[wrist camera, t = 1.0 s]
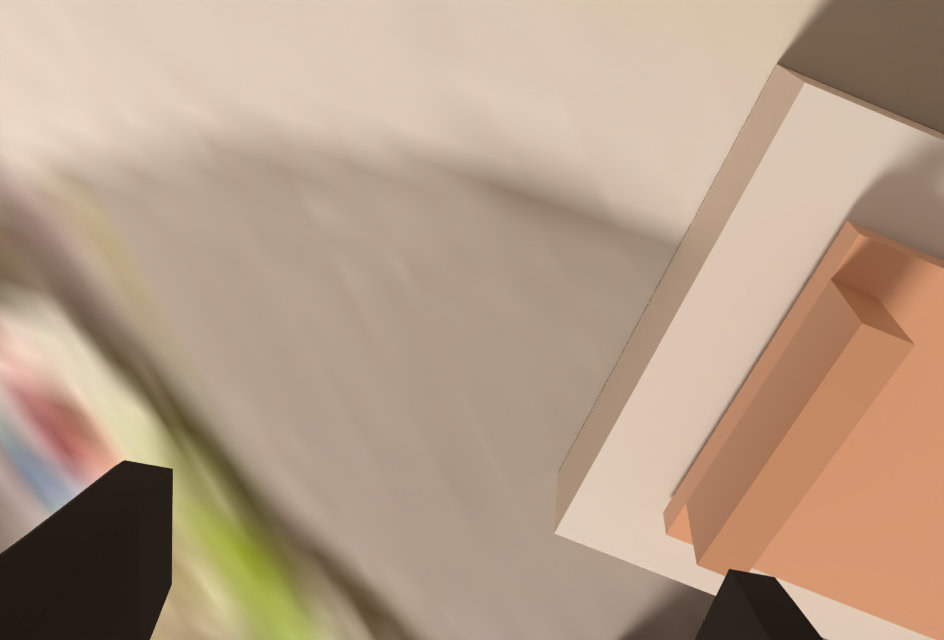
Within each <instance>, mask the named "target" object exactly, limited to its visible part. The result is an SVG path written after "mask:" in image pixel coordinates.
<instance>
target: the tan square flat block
mask: <svg viewBox="0 0 944 640" xmlns="http://www.w3.org/2000/svg"><path fill="white" fill-rule="evenodd" d="M663 517H664V524H665V532H666V535H668V536H671V537H673V538H676V539H678V540H681V541H683V542H686V543H689V544H691V545H693V547H694V552H695V558H696V564H697V565H698V566H700V567H703V568H705V569H708V570H711V571H713V572H716V573H718V574H721V575H723V576H726V574H727V572H728V570H729V569H733V570H739V571H744V572H749V571H750V570H751V569H752V568H753V569H755V570H758V571H760V572H763V573H765V574H768V575H771V576H773V577H776V578H778V579H781V580H783V581H786V582H789V583H791V584H794V585H796V586H799V587H801V588H804V589H807V590H809V591H812V592H814V593H817V594H819V595H822V596H824V597H827V598H830V599H832V600H835V601H837V602H840V603H842V604H845V605H848V606H850V607H853V608H855V609H858V610H860V611H863V612H865V613H868V614H871V615H873V616H876V617H878V618H881V619H883V620H886V621H889V622H891V623H894V624H896V625H899V626H901V627H904V628H907V629H909V630H912V631H914V632H917V633H919V634H922V635H924V636H927V637H930V638H932V639H935V640H944V260H941V259H939V258H937V257H934V256H932V255H929V254H927V253H924V252H922V251H920V250H917V249H915V248H912V247H910V246H907V245H905V244H903V243H900V242H898V241H895V240H893V239H890V238H888V237H886V236H883V235H881V234H878V233H876V232H873V231H871V230H869V229H866V228H864V227H861V226H859V225H856V224H854V223H852V222H849V221H846V223H845V225H844V226H843V228H842V229H841V231H840V233H839V234H838V236H837V237H836V239H835V240H834V242H833V244H832V245H831V247H830V248H829V250H828V252H827V253H826V255H825V256H824V258H823V259H822V261H821V263H820V264H819V266H818V267H817V269H816V271H815V272H814V274H813V275H812V277H811V279H810V280H809V282H808V283H807V285H806V286H805V288H804V290H803V291H802V293H801V294H800V296H799V298H798V299H797V301H796V302H795V304H794V305H793V307H792V309H791V310H790V312H789V313H788V315H787V317H786V318H785V320H784V321H783V323H782V325H781V326H780V328H779V329H778V331H777V332H776V334H775V336H774V337H773V339H772V340H771V342H770V344H769V345H768V347H767V348H766V350H765V352H764V353H763V355H762V356H761V358H760V359H759V361H758V363H757V364H756V366H755V367H754V369H753V371H752V372H751V374H750V375H749V377H748V378H747V380H746V382H745V383H744V385H743V386H742V388H741V390H740V391H739V393H738V394H737V396H736V398H735V399H734V401H733V402H732V404H731V405H730V407H729V409H728V410H727V412H726V413H725V415H724V417H723V418H722V420H721V421H720V423H719V424H718V426H717V428H716V429H715V431H714V432H713V434H712V436H711V437H710V439H709V440H708V442H707V444H706V445H705V447H704V448H703V450H702V451H701V453H700V455H699V456H698V458H697V459H696V461H695V463H694V464H693V466H692V467H691V469H690V470H689V472H688V474H687V475H686V477H685V478H684V480H683V482H682V483H681V485H680V486H679V488H678V490H677V491H676V493H675V494H674V496H673V497H672V499H671V501H670V502H669V504H668V505H667V507H666V509H665V510H664V512H663Z"/></svg>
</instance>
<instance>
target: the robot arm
mask: <svg viewBox="0 0 944 640" xmlns="http://www.w3.org/2000/svg"><path fill="white" fill-rule="evenodd" d="M172 496H173V469H170V468H165V467H159V466H153V465H148V464H142V463H137V462H131V461H126V460H124V461H122V462H121V463H119V464H117V465H116V466H114V467H113V468H112V469H111V470H109V471H108V472H107V473H105V474H104V475H103V476H102V477H100V478H99V479H98V480H96V481H95V482H94V483H93V484H91V485H90V486H89V487H88V488H86V489H85V490H84V491H82V492H81V493H80V494H79V495H77V496H76V497H75V498H74V499H72V500H71V501H70V502H68V503H67V504H66V505H65V506H63V507H62V508H61V509H59V510H58V511H57V512H56V513H54V514H53V515H52V516H50V517H49V518H48V519H46V520H45V521H44V522H42V523H41V524H40V525H39V526H37V527H36V528H35V529H33V530H32V531H31V532H29V533H28V534H27V535H25V536H24V537H23V538H21V539H20V540H19V541H17V542H16V543H15V544H13V545H12V546H10V547H9V548H8V549H6V550H5V551H4V552H2V553H1V554H0V640H150V638H151V635H152V633H153V631H154V628H155V626H156V623H157V621H158V618H159V615H160V613H161V610H162V608H163V605H164V603H165V600H166V597H167V595H168V592H169V590H170V587H171V585H172ZM695 640H823V639H822V637H821V636H820V635H819V633H818V632H817V631H816V629H815V628H814V627H813V625H812V624H811V623H810V621H809V620H808V619H807V618H806V616H805V615H804V614H803V612H802V611H801V610H800V608H799V607H798V606H797V604H796V603H795V602H794V601H793V599H792V598H791V597H790V595H789V594H788V593H787V592H786V590H785V589H784V588H783V587H782V585H781V584H780V583H779V582H778V580H777V579H776V578H775V577H772V576H767V575H761V574H756V573H750V572H744V571H739V570H733V569H729V570H728V572H727V574H726V576H725V578H724V580H723V582H722V584H721V586H720V589H719V591H718V593H717V595H716V597H715V599H714V601H713V603H712V605H711V607H710V609H709V612H708V614H707V616H706V618H705V620H704V622H703V624H702V626H701V628H700V630H699V632H698V634H697V637H696V639H695Z"/></svg>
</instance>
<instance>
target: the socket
mask: <svg viewBox="0 0 944 640" xmlns="http://www.w3.org/2000/svg"><path fill="white" fill-rule="evenodd" d="M846 221H849V222H852V223H854V224H856V225H859V226H861V227H864V228H866V229H869V230H871V231H873V232H876V233H878V234H881V235H883V236H886V237H888V238H890V239H893V240H895V241H898V242H900V243H903V244H905V245H907V246H910V247H912V248H915V249H917V250H920V251H922V252H924V253H927V254H929V255H932V256H934V257H937V258H939V259H941V260H944V134H942V133H940V132H938V131H935V130H933V129H930V128H928V127H926V126H923V125H921V124H918V123H916V122H914V121H911V120H909V119H906V118H904V117H902V116H899V115H897V114H895V113H892V112H890V111H887V110H885V109H883V108H880V107H878V106H875V105H873V104H871V103H868V102H866V101H863V100H861V99H859V98H856V97H854V96H852V95H849V94H847V93H844V92H842V91H840V90H837V89H835V88H832V87H830V86H828V85H825V84H823V83H820V82H818V81H816V80H813V79H811V78H809V77H806V76H804V75H801V74H799V73H797V72H794V71H792V70H789V69H787V68H785V67H782V66H780V65H776V66H775V68H774V70H773V72H772V74H771V76H770V78H769V80H768V81H767V83H766V85H765V87H764V89H763V91H762V93H761V95H760V96H759V98H758V100H757V102H756V104H755V106H754V108H753V109H752V111H751V113H750V115H749V117H748V119H747V121H746V123H745V124H744V126H743V128H742V130H741V132H740V134H739V136H738V138H737V139H736V141H735V143H734V145H733V147H732V149H731V151H730V153H729V154H728V156H727V158H726V160H725V162H724V164H723V166H722V168H721V169H720V171H719V173H718V175H717V177H716V179H715V181H714V183H713V184H712V186H711V188H710V190H709V192H708V194H707V196H706V198H705V199H704V201H703V203H702V205H701V207H700V209H699V211H698V213H697V214H696V216H695V218H694V220H693V222H692V224H691V226H690V228H689V229H688V231H687V233H686V235H685V237H684V239H683V241H682V243H681V244H680V246H679V248H678V250H677V252H676V254H675V256H674V258H673V259H672V261H671V263H670V265H669V267H668V269H667V271H666V273H665V274H664V276H663V278H662V280H661V282H660V284H659V286H658V288H657V289H656V291H655V293H654V295H653V297H652V299H651V301H650V302H649V304H648V306H647V308H646V310H645V312H644V314H643V316H642V317H641V319H640V321H639V323H638V325H637V327H636V329H635V331H634V332H633V334H632V336H631V338H630V340H629V342H628V344H627V346H626V347H625V349H624V351H623V353H622V355H621V357H620V359H619V361H618V362H617V364H616V366H615V368H614V370H613V372H612V374H611V376H610V377H609V379H608V381H607V383H606V385H605V387H604V389H603V391H602V392H601V394H600V396H599V398H598V400H597V402H596V404H595V406H594V407H593V409H592V411H591V413H590V415H589V417H588V419H587V421H586V422H585V424H584V426H583V428H582V430H581V432H580V434H579V436H578V437H577V439H576V441H575V443H574V445H573V447H572V449H571V451H570V452H569V454H568V456H567V458H566V460H565V462H564V464H563V466H562V467H561V469H560V471H559V473H558V477H557V494H556V512H555V530H554V533H555V534H557V535H560V536H562V537H565V538H568V539H570V540H573V541H575V542H578V543H581V544H583V545H586V546H588V547H591V548H593V549H596V550H599V551H601V552H604V553H606V554H609V555H611V556H614V557H617V558H619V559H622V560H624V561H627V562H630V563H632V564H635V565H637V566H640V567H642V568H645V569H648V570H650V571H653V572H655V573H658V574H660V575H663V576H666V577H668V578H671V579H673V580H676V581H679V582H681V583H684V584H686V585H689V586H691V587H694V588H697V589H699V590H702V591H704V592H707V593H709V594H712V595H715V596H716V595H717V593H718V591H719V589H720V586H721V584H722V582H723V580H724V578H725V576H723V575H721V574H718V573H716V572H713V571H711V570H708V569H705V568H703V567H700V566H698V565H697V564H696V558H695V552H694V547H693V545H691V544H689V543H686V542H683V541H681V540H678V539H676V538H673V537H671V536H668V535H666V532H665V524H664V517H663V512H664V510H665V509H666V507H667V505H668V504H669V502H670V501H671V499H672V497H673V496H674V494H675V493H676V491H677V490H678V488H679V486H680V485H681V483H682V482H683V480H684V478H685V477H686V475H687V474H688V472H689V470H690V469H691V467H692V466H693V464H694V463H695V461H696V459H697V458H698V456H699V455H700V453H701V451H702V450H703V448H704V447H705V445H706V444H707V442H708V440H709V439H710V437H711V436H712V434H713V432H714V431H715V429H716V428H717V426H718V424H719V423H720V421H721V420H722V418H723V417H724V415H725V413H726V412H727V410H728V409H729V407H730V405H731V404H732V402H733V401H734V399H735V398H736V396H737V394H738V393H739V391H740V390H741V388H742V386H743V385H744V383H745V382H746V380H747V378H748V377H749V375H750V374H751V372H752V371H753V369H754V367H755V366H756V364H757V363H758V361H759V359H760V358H761V356H762V355H763V353H764V352H765V350H766V348H767V347H768V345H769V344H770V342H771V340H772V339H773V337H774V336H775V334H776V332H777V331H778V329H779V328H780V326H781V325H782V323H783V321H784V320H785V318H786V317H787V315H788V313H789V312H790V310H791V309H792V307H793V305H794V304H795V302H796V301H797V299H798V298H799V296H800V294H801V293H802V291H803V290H804V288H805V286H806V285H807V283H808V282H809V280H810V279H811V277H812V275H813V274H814V272H815V271H816V269H817V267H818V266H819V264H820V263H821V261H822V259H823V258H824V256H825V255H826V253H827V252H828V250H829V248H830V247H831V245H832V244H833V242H834V240H835V239H836V237H837V236H838V234H839V233H840V231H841V229H842V228H843V226H844V225H845V223H846ZM749 572H750V573H756V574H761V575H767V576H771V575H768V574H765V573H763V572H760V571H758V570H755V569H753V568H752V569H751V570H750V571H749ZM772 577H773V576H772ZM775 578H776V577H775ZM776 579H777V580H778V582H779V583H780V584H781V585H782V587H783V588H784V589H785V590H786V592H787V593H788V594H789V595H790V597H791V598H792V599H793V601H794V602H795V603H796V604H797V606H798V607H799V608H800V610H801V611H802V612H803V614H804V615H805V616H806V618H807V619H808V620H809V621H810V623H811V624H812V625H813V627H814V628H815V629H816V631H817V632H818V633H819V635H820V636H821V637H823V638H826V639H828V640H935V639H932V638H930V637H927V636H924V635H922V634H919V633H917V632H914V631H912V630H909V629H907V628H904V627H901V626H899V625H896V624H894V623H891V622H889V621H886V620H883V619H881V618H878V617H876V616H873V615H871V614H868V613H865V612H863V611H860V610H858V609H855V608H853V607H850V606H848V605H845V604H842V603H840V602H837V601H835V600H832V599H830V598H827V597H824V596H822V595H819V594H817V593H814V592H812V591H809V590H807V589H804V588H801V587H799V586H796V585H794V584H791V583H789V582H786V581H783V580H781V579H778V578H776Z"/></svg>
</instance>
